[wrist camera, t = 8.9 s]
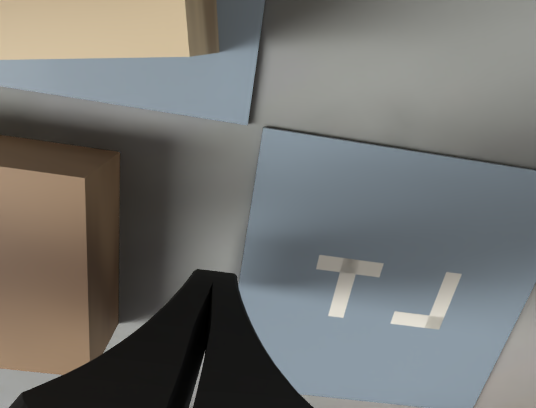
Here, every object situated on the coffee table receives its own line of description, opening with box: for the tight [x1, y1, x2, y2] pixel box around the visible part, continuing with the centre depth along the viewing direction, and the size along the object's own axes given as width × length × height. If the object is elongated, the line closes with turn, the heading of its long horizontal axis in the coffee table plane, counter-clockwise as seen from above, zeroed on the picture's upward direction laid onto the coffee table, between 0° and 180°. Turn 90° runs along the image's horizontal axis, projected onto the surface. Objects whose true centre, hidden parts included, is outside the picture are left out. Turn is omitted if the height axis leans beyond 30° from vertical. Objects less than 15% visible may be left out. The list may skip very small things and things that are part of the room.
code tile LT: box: [238, 127, 536, 408], centre depth 15 cm, size 11×11×1 cm
